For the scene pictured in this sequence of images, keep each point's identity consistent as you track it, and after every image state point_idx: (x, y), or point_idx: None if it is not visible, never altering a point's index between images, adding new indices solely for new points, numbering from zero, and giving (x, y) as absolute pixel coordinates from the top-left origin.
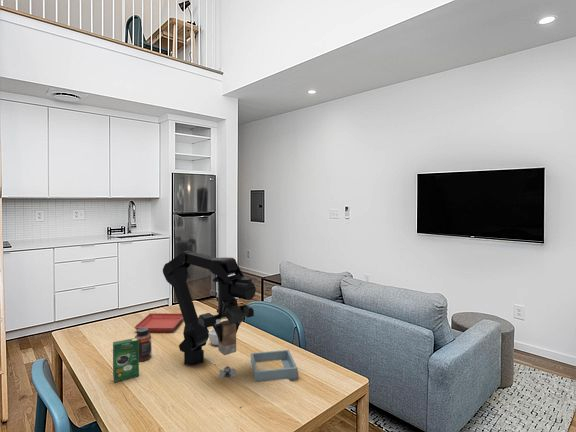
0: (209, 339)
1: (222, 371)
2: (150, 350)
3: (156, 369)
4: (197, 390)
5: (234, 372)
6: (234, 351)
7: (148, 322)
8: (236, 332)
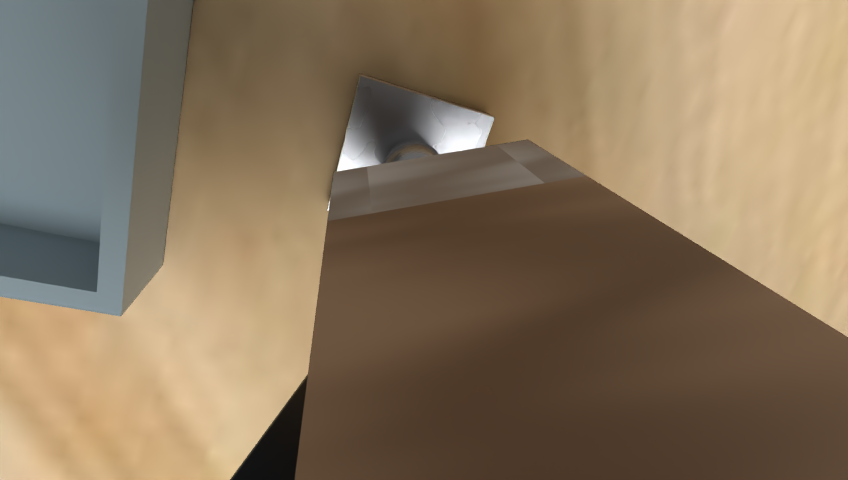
0: None
1: None
2: None
3: None
4: (679, 58)
5: (351, 148)
6: (365, 169)
7: None
8: (265, 439)
